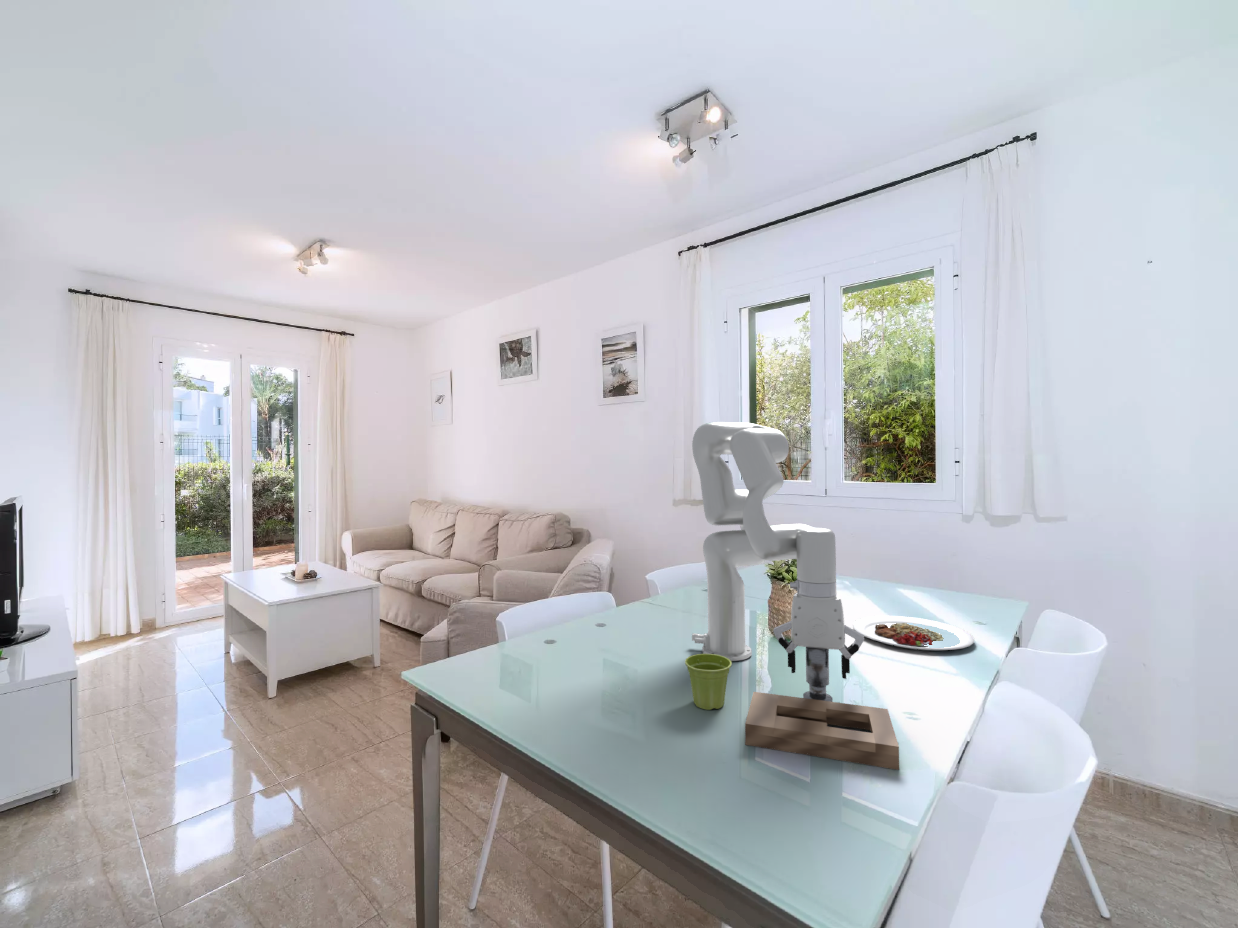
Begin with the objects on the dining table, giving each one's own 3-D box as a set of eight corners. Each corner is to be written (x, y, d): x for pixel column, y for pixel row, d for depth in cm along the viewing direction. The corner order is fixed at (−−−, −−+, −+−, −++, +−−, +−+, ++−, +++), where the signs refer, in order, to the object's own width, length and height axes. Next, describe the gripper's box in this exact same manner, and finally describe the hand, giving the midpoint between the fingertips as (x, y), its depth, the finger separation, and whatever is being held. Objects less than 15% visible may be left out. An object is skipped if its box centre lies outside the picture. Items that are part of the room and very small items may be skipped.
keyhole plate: (745, 744, 93) (745, 723, 94) (753, 710, 107) (753, 691, 107) (899, 769, 85) (898, 746, 85) (887, 728, 98) (887, 708, 98)
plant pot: (722, 718, 103) (721, 673, 103) (677, 707, 108) (677, 664, 108) (738, 700, 111) (738, 658, 111) (696, 690, 116) (696, 650, 116)
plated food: (929, 620, 167) (929, 609, 167) (1002, 654, 137) (1002, 641, 137) (835, 622, 166) (834, 611, 166) (887, 657, 136) (886, 643, 136)
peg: (803, 707, 107) (802, 642, 108) (803, 696, 113) (802, 634, 113) (833, 711, 106) (832, 645, 106) (832, 700, 111) (831, 637, 111)
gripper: (771, 590, 109) (772, 675, 108) (864, 595, 103) (866, 685, 102) (773, 582, 116) (775, 662, 115) (861, 587, 110) (863, 671, 109)
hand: (818, 673), depth 109 cm, fingers open, 9 cm apart
